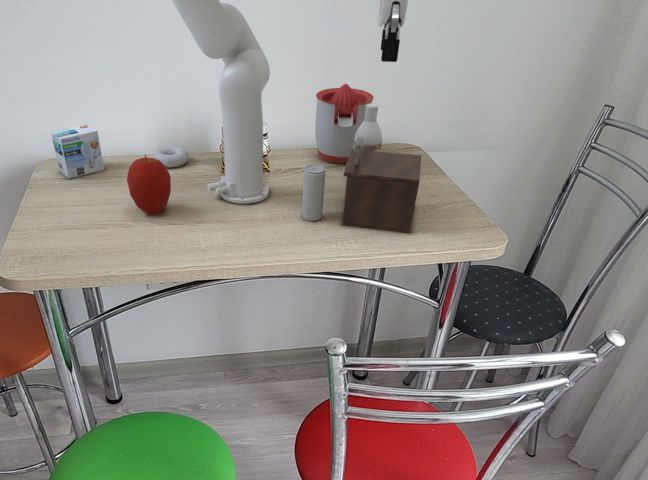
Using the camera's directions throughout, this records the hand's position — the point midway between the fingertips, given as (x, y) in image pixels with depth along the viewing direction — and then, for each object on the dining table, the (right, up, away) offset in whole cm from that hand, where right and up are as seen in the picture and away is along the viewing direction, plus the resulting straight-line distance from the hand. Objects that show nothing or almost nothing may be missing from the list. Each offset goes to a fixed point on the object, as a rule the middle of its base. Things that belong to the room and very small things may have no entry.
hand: (388, 55), depth 119 cm
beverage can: (-15, -30, +16) cm, 38 cm away
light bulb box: (-77, -13, +37) cm, 86 cm away
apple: (-53, -28, +19) cm, 63 cm away
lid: (+1, -20, +10) cm, 23 cm away
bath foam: (0, -18, +31) cm, 36 cm away
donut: (-53, -9, +42) cm, 68 cm away
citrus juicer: (-5, -6, +45) cm, 46 cm away
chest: (+1, -29, +17) cm, 34 cm away
